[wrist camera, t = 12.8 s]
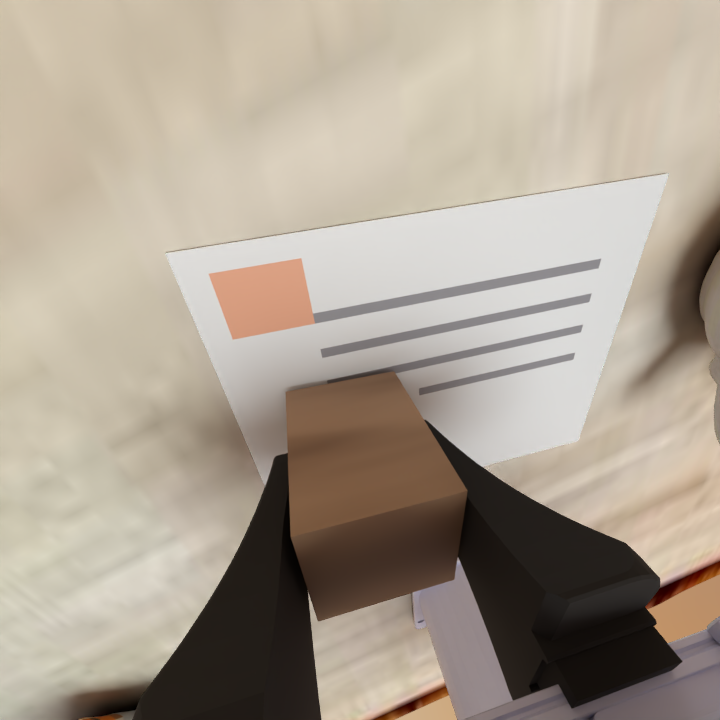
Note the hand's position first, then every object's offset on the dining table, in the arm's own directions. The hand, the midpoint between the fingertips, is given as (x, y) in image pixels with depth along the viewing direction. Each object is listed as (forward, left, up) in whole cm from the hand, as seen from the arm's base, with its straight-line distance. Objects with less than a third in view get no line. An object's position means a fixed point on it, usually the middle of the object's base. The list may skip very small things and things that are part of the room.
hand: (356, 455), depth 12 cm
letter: (+1, -4, -2) cm, 5 cm away
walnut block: (0, 0, -2) cm, 2 cm away
